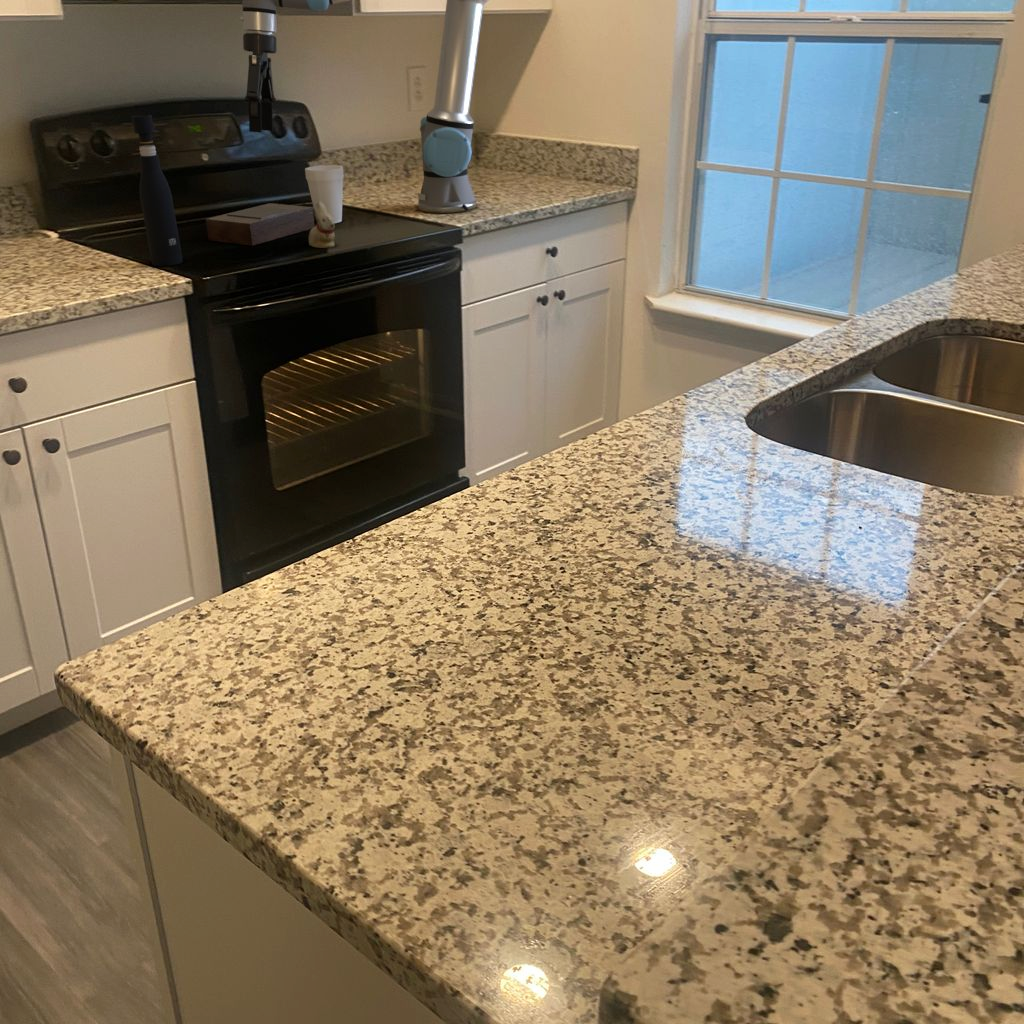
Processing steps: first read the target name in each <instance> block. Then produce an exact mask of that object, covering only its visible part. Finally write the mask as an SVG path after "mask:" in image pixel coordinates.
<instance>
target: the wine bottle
mask: <svg viewBox="0 0 1024 1024" xmlns="http://www.w3.org/2000/svg"><path fill="white" fill-rule="evenodd" d="M131 121H132V125H133V131H134V134H138V141H139V144H140V145H139V149H138V150H139V154H140V155H139V156H138V157H139V162H140V168H141V170H140V171H141V172H140V179H139V199H140V206H141V209H142V210H141V211H142V217H143V220H144V227H145V233H146V239H147V244H148V248H149V249H148V250H149V254H150V260H151V265H152V266H155V267H169V266H170V267H171V266H177V265H180V264H182V263H183V262H184V259H183V253H182V248H181V242H180V236H179V229H178V225H177V218H176V212H175V206H174V201H173V195H172V192H171V189H170V185H169V183H168V180H167V178H166V177H165V174H164V173H163V171H162V169H161V164H160V159H159V158H160V157H159V155H158V154H157V151H156V149H157V148H156V145H154V144H153V143H154V140H153V136H152V133H155V127H154V122H153V116H152V115H151V114H139V115H137V114H136V115H132V116H131Z"/></svg>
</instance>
